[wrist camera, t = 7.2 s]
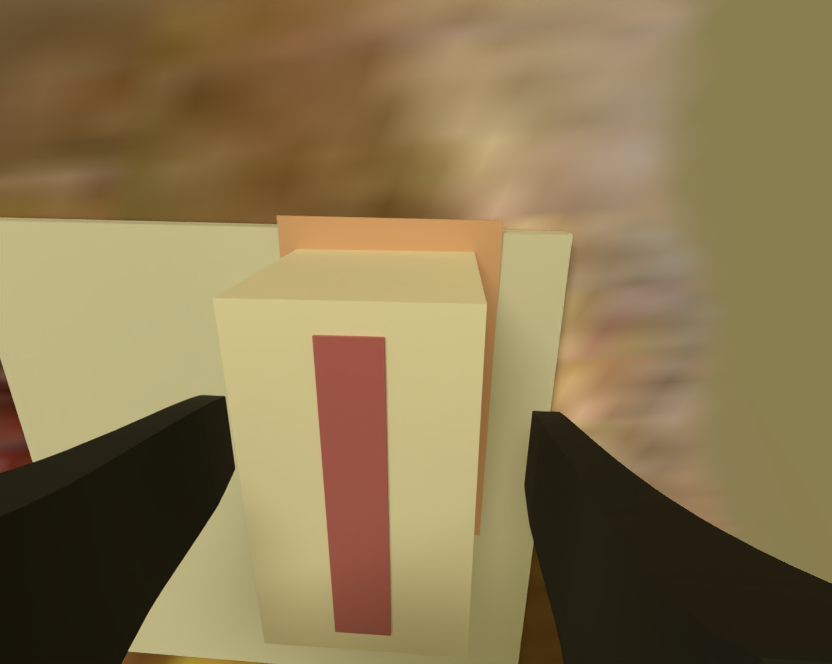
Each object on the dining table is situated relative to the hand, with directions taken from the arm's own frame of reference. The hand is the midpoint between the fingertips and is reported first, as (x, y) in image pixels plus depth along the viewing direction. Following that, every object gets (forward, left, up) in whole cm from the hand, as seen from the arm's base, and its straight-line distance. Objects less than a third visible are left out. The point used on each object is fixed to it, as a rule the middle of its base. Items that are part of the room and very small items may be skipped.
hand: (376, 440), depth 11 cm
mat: (-3, +3, -3) cm, 6 cm away
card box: (0, 0, -2) cm, 2 cm away
